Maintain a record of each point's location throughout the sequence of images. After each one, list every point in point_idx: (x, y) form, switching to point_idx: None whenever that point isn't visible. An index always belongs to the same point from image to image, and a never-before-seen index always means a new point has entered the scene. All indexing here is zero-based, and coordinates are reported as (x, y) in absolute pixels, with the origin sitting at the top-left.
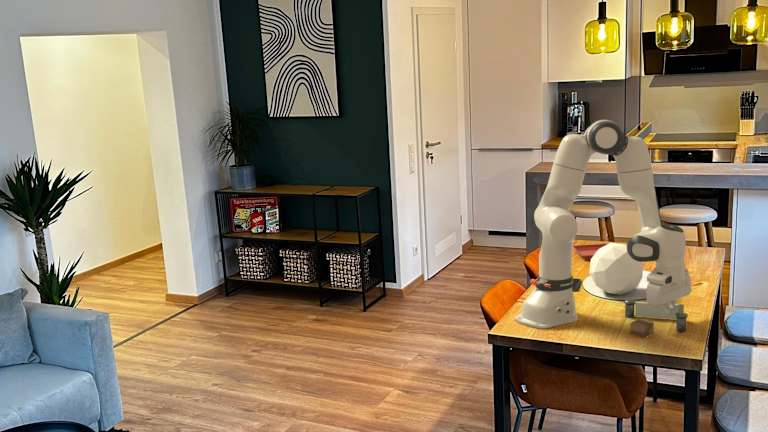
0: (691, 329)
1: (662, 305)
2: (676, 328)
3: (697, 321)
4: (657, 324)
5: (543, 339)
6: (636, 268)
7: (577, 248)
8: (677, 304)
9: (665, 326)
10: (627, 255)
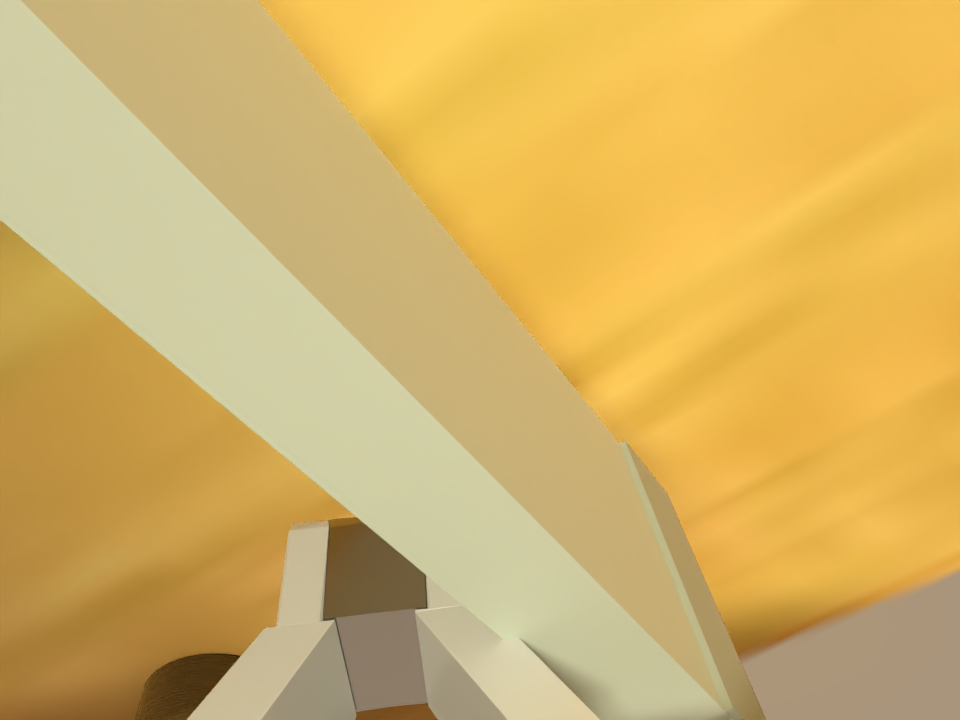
0: (385, 715)
1: (381, 504)
2: (138, 716)
3: (736, 599)
4: (73, 382)
5: None
6: None
7: None
8: (694, 708)
9: (141, 509)
10: None
